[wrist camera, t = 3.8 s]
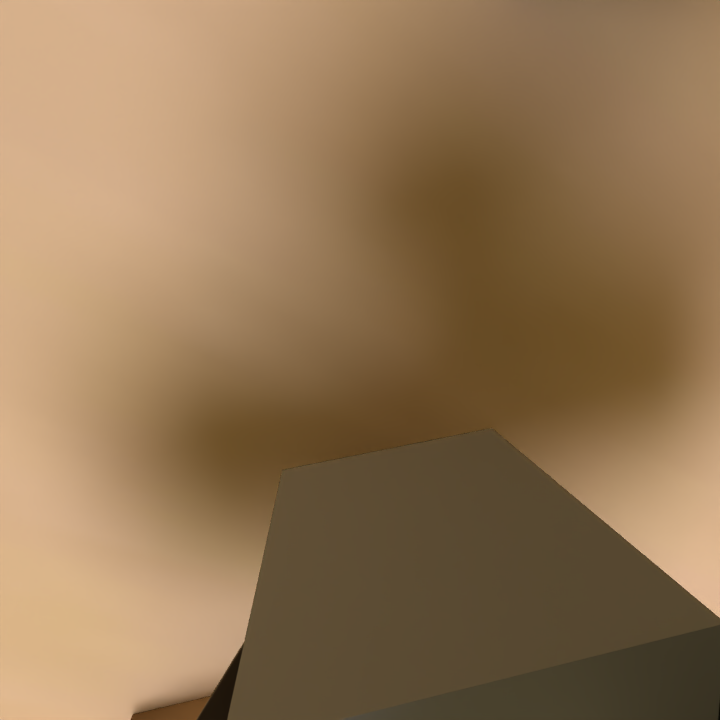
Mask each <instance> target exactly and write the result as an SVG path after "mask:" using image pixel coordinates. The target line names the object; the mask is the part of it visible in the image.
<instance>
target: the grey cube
mask: <svg viewBox="0 0 720 720" xmlns="http://www.w3.org/2000/svg"><path fill="white" fill-rule="evenodd" d="M719 702H720V618H719V617H718V616H717V615H715V614H714V613H713V612H712V611H711V610H709V609H708V608H707V607H706V606H705V605H703V604H702V603H701V602H700V601H699V600H697V599H696V598H695V597H694V596H693V595H691V594H690V593H689V592H688V591H687V590H685V589H684V588H683V587H682V586H681V585H679V584H678V583H677V582H676V581H675V580H673V579H672V578H671V577H670V576H669V575H667V574H666V573H665V572H664V571H663V570H661V569H660V568H659V567H658V566H657V565H655V564H654V563H653V562H652V561H651V560H649V559H648V558H647V557H646V556H645V555H643V554H642V553H641V552H640V551H639V550H637V549H636V548H635V547H634V546H633V545H631V544H630V543H629V542H628V541H627V540H625V539H624V538H623V537H622V536H621V535H619V534H618V533H617V532H616V531H615V530H613V529H612V528H611V527H610V526H609V525H607V524H606V523H605V522H604V521H603V520H601V519H600V518H599V517H598V516H597V515H595V514H594V513H593V512H592V511H591V510H589V509H588V508H587V507H586V506H585V505H583V504H582V503H581V502H580V501H579V500H577V499H576V498H575V497H574V496H573V495H571V494H570V493H569V492H568V491H567V490H565V489H564V488H563V487H562V486H561V485H559V484H558V483H557V482H556V481H555V480H553V479H552V478H551V477H550V476H549V475H547V474H546V473H545V472H544V471H543V470H541V469H540V468H539V467H538V466H537V465H535V464H534V463H533V462H532V461H531V460H529V459H528V458H527V457H526V456H525V455H523V454H522V453H521V452H520V451H519V450H517V449H516V448H515V447H514V446H513V445H511V444H510V443H509V442H508V441H507V440H505V439H504V438H503V437H502V436H501V435H499V434H498V433H497V432H496V431H495V430H493V429H492V428H491V429H486V430H481V431H476V432H471V433H466V434H461V435H456V436H450V437H445V438H440V439H435V440H430V441H425V442H420V443H415V444H410V445H405V446H400V447H395V448H390V449H385V450H380V451H375V452H370V453H365V454H360V455H355V456H350V457H345V458H340V459H335V460H330V461H325V462H320V463H315V464H310V465H305V466H300V467H295V468H290V469H285V470H282V473H281V478H280V482H279V487H278V491H277V496H276V500H275V505H274V510H273V514H272V519H271V523H270V528H269V532H268V537H267V541H266V546H265V550H264V555H263V559H262V564H261V569H260V573H259V578H258V582H257V587H256V591H255V596H254V600H253V605H252V609H251V614H250V619H249V623H248V628H247V632H246V637H245V641H244V646H243V650H242V655H241V659H240V664H239V668H238V673H237V678H236V682H235V687H234V691H233V696H232V700H231V705H230V709H229V714H228V718H227V720H718V715H719Z"/></svg>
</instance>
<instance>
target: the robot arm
mask: <svg viewBox="0 0 720 720" xmlns="http://www.w3.org/2000/svg"><path fill="white" fill-rule="evenodd" d="M243 646H244V643H243V645H242V646H241V648H240V649H239V651H238V653H237V654H236V656H235V658H234V659H233V661H232V662H231V664H230V666H229V667H228V669H227V671H226V672H225V674H224V675H223V677H222V679H221V680H220V682H219V683H218V685H217V687H216V688H215V690H214V692H213V693H212V695H211V696H210V698H209V700H208V701H207V703H206V705H205V706H204V708H203V709H202V711H201V713H200V714H199V716H198V717H197V719H196V720H227V718H228V714H229V709H230V705H231V700H232V696H233V691H234V687H235V682H236V678H237V673H238V668H239V664H240V659H241V655H242V650H243ZM718 720H720V702H719V715H718Z"/></svg>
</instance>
